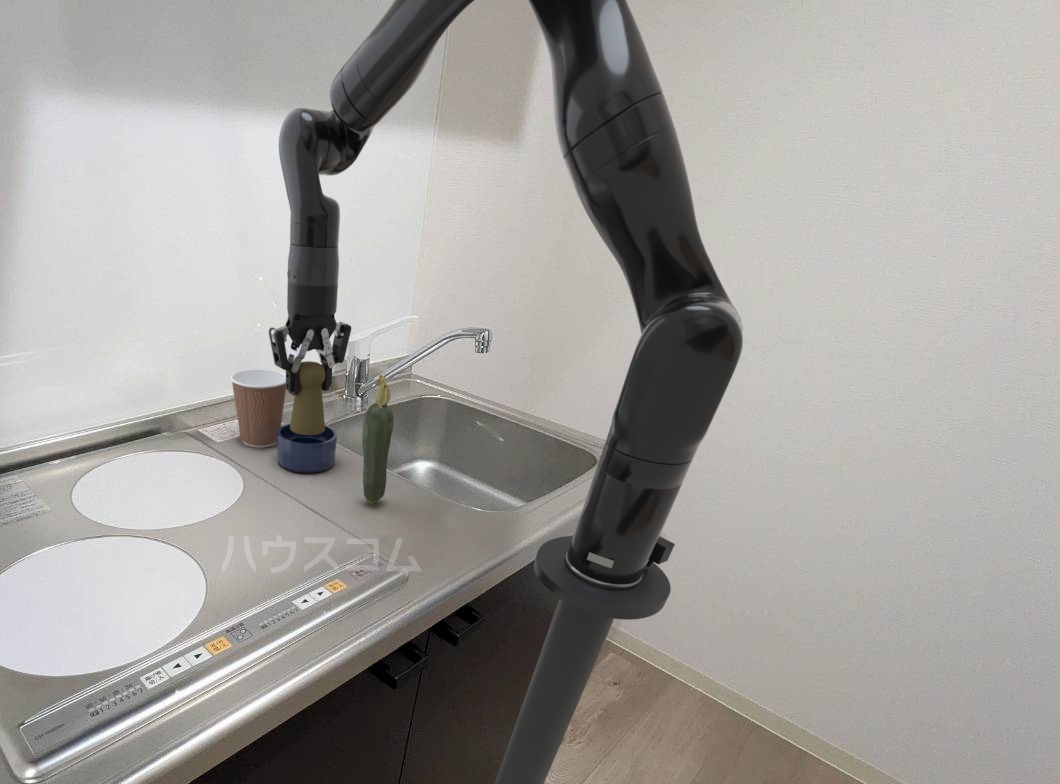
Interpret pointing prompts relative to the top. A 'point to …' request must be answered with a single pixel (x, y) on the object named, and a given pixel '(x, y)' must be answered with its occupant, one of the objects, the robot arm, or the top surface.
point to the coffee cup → (259, 405)
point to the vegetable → (377, 443)
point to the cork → (309, 400)
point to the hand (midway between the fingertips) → (308, 391)
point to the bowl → (306, 450)
